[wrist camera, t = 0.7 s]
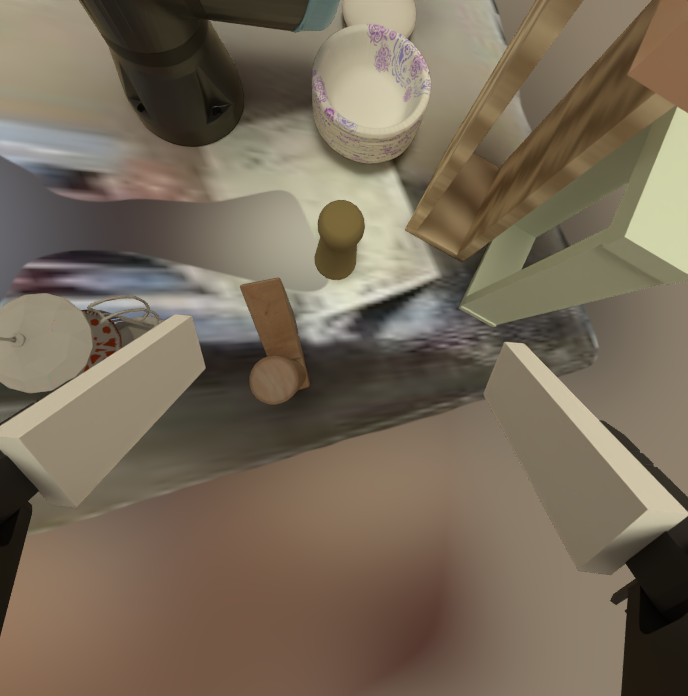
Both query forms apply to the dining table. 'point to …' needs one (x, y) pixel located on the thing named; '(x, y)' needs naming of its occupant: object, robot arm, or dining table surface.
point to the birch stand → (534, 135)
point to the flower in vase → (382, 14)
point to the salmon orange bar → (665, 54)
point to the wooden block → (275, 343)
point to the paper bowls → (369, 92)
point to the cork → (338, 239)
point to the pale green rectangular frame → (602, 248)
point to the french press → (60, 339)
